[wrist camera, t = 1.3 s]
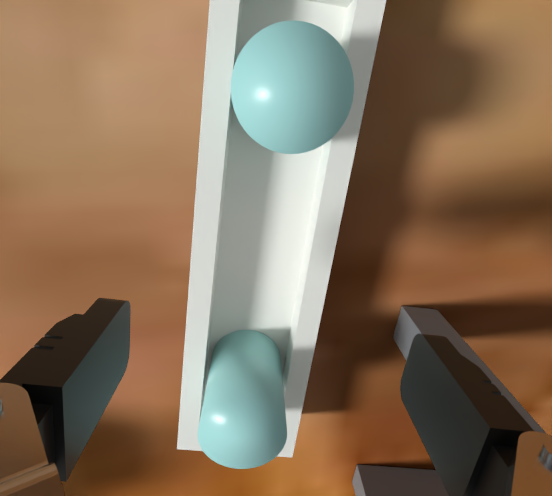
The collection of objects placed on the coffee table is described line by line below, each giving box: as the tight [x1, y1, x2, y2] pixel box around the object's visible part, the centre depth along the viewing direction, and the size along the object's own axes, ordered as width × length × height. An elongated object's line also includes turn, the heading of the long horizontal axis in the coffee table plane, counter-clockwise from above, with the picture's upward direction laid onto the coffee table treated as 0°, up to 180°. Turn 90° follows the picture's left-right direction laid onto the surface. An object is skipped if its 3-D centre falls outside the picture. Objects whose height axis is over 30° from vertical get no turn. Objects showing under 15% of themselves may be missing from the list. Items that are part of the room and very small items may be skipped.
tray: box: [177, 0, 386, 469], centre depth 16 cm, size 22×6×6 cm, turn 172°
